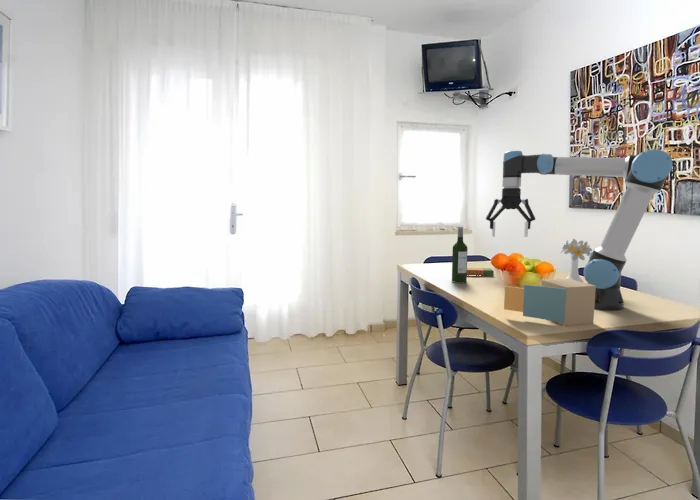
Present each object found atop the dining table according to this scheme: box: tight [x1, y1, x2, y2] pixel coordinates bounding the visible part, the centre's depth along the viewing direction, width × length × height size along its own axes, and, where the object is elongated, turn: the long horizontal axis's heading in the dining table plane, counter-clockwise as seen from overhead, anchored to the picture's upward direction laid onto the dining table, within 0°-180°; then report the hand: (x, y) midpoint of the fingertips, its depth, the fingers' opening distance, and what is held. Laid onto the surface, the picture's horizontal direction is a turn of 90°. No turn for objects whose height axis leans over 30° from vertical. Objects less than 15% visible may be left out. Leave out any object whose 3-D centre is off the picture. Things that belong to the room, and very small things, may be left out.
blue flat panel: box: [503, 284, 566, 322], centre depth 157 cm, size 1×21×12 cm, turn 54°
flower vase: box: [560, 238, 593, 283], centre depth 208 cm, size 13×18×25 cm
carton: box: [467, 267, 495, 276], centre depth 251 cm, size 8×16×4 cm, turn 85°
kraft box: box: [540, 278, 596, 326], centre depth 160 cm, size 12×14×14 cm
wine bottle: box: [451, 226, 469, 283], centre depth 231 cm, size 8×8×30 cm
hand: (509, 236), depth 186 cm, fingers open, 13 cm apart
